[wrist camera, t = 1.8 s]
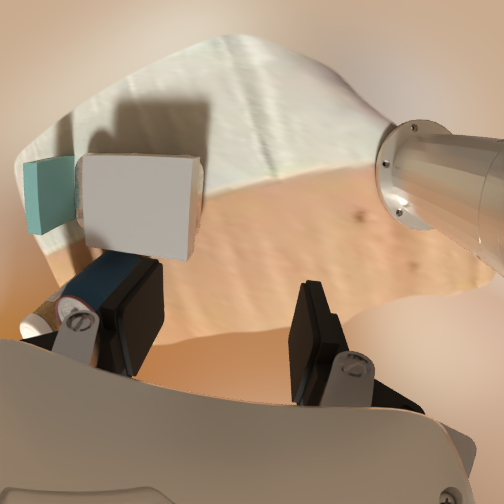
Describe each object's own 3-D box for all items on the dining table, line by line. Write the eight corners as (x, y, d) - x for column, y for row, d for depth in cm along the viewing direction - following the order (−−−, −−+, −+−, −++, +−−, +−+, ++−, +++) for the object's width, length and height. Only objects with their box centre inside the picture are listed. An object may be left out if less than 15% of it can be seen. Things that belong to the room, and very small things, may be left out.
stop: (74, 155, 28) (37, 162, 22) (75, 217, 31) (41, 235, 25) (60, 155, 28) (23, 163, 22) (62, 216, 31) (28, 233, 25)
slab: (200, 156, 24) (193, 158, 22) (193, 251, 27) (187, 261, 25) (96, 153, 24) (82, 155, 22) (98, 237, 27) (85, 246, 25)
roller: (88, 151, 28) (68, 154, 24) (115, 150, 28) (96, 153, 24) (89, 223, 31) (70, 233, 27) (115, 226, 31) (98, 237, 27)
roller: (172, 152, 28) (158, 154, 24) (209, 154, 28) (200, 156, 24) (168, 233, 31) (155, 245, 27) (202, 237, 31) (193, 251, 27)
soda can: (95, 262, 33) (41, 310, 22) (126, 232, 32) (68, 277, 20) (129, 301, 35) (86, 359, 24) (162, 276, 33) (120, 336, 22)
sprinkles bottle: (106, 296, 35) (53, 357, 23) (83, 299, 36) (32, 355, 23) (93, 266, 34) (32, 321, 21) (71, 271, 34) (12, 322, 22)
